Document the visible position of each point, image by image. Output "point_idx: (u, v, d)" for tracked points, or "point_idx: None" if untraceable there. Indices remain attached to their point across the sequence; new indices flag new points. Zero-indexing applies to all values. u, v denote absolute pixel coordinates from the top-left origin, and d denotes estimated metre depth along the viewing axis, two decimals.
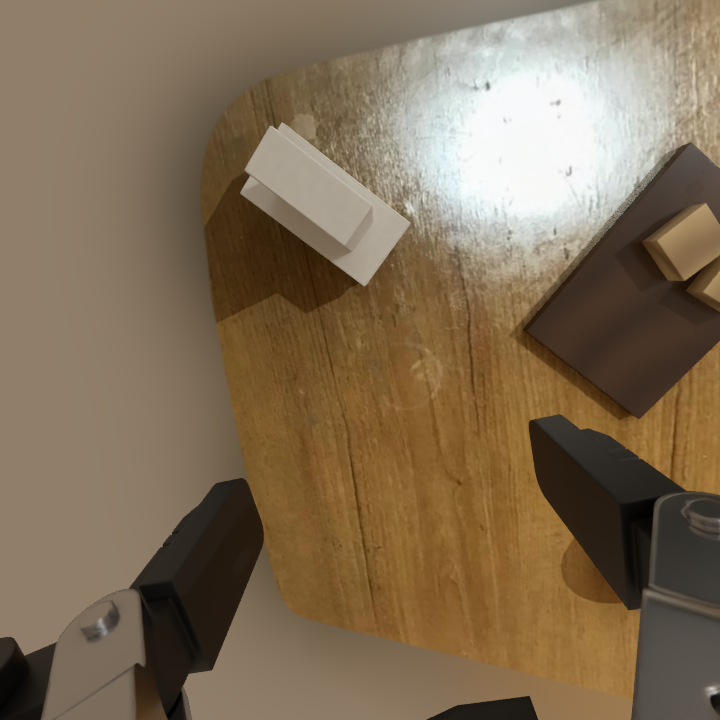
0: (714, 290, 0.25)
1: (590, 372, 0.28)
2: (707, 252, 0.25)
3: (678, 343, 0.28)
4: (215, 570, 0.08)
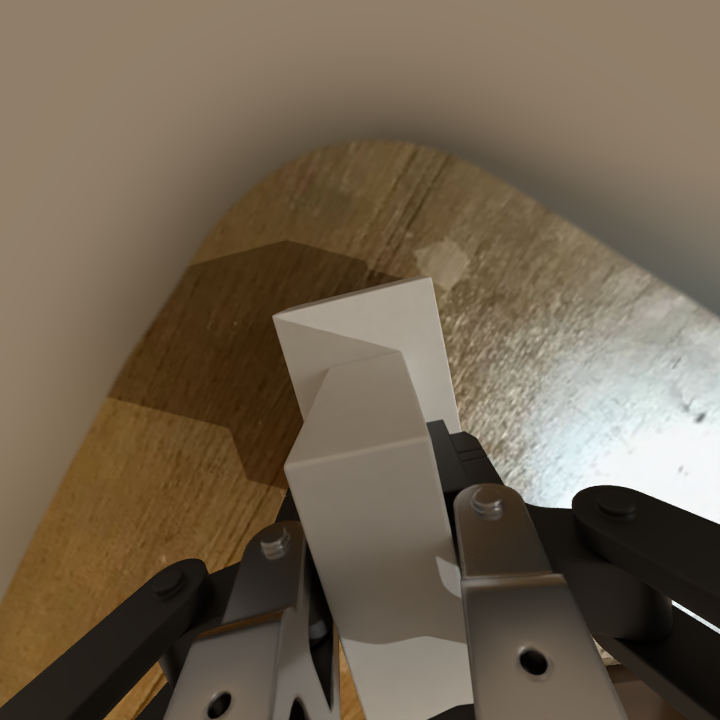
0: None
1: None
2: None
3: None
4: None
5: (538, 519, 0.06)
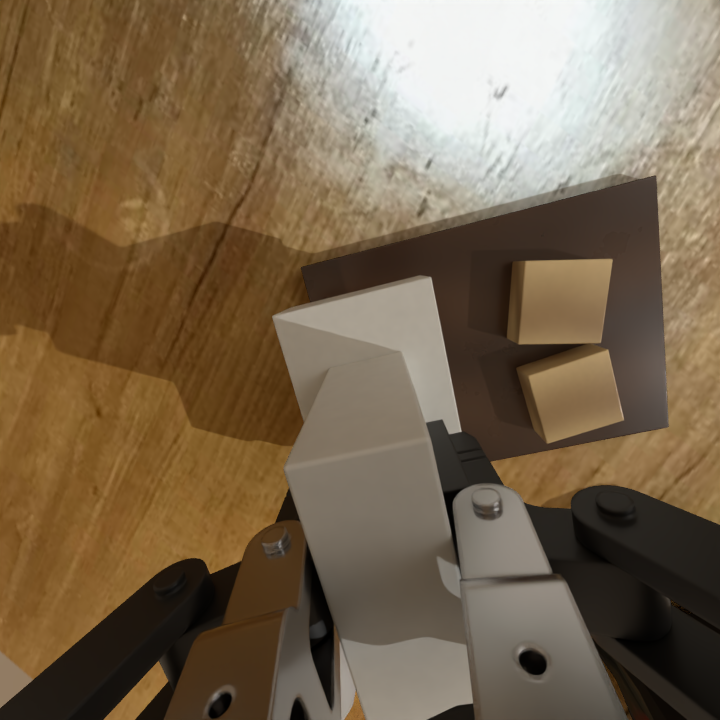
0: (540, 384, 0.17)
1: None
2: (568, 328, 0.16)
3: (464, 427, 0.19)
4: None
5: (537, 519, 0.06)
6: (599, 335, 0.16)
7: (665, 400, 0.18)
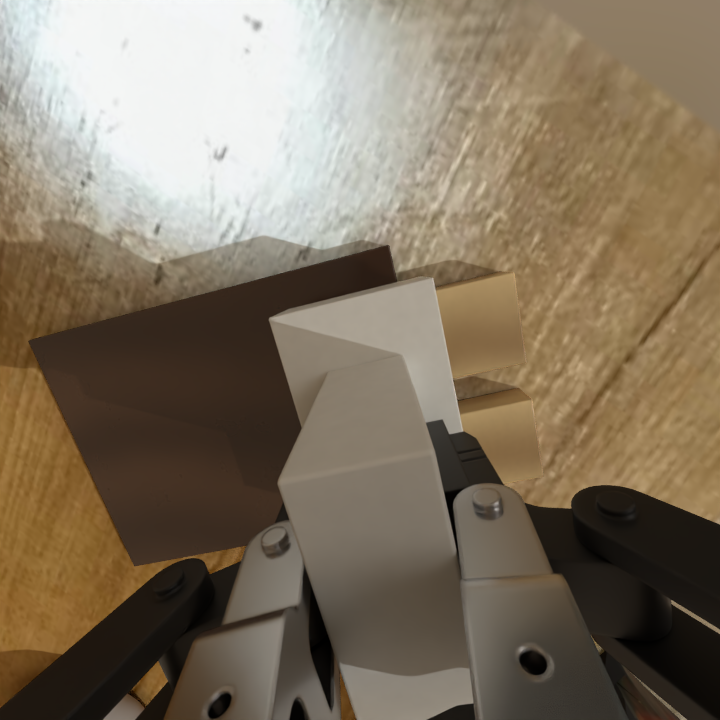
0: None
1: (96, 463, 0.17)
2: (486, 354, 0.14)
3: (230, 507, 0.17)
4: None
5: (537, 519, 0.06)
6: (522, 355, 0.14)
7: None
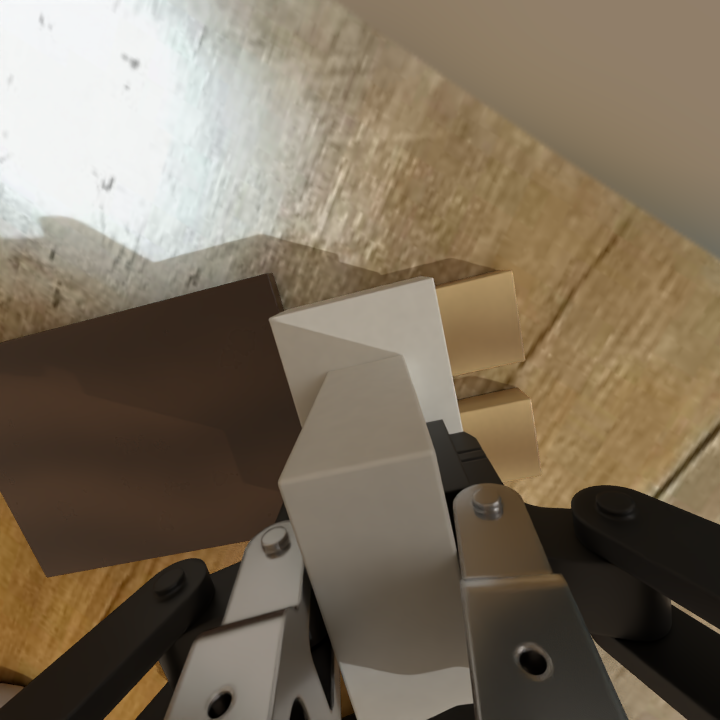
0: None
1: (4, 478, 0.18)
2: (484, 352, 0.14)
3: (135, 521, 0.18)
4: None
5: (537, 519, 0.06)
6: (520, 352, 0.14)
7: None
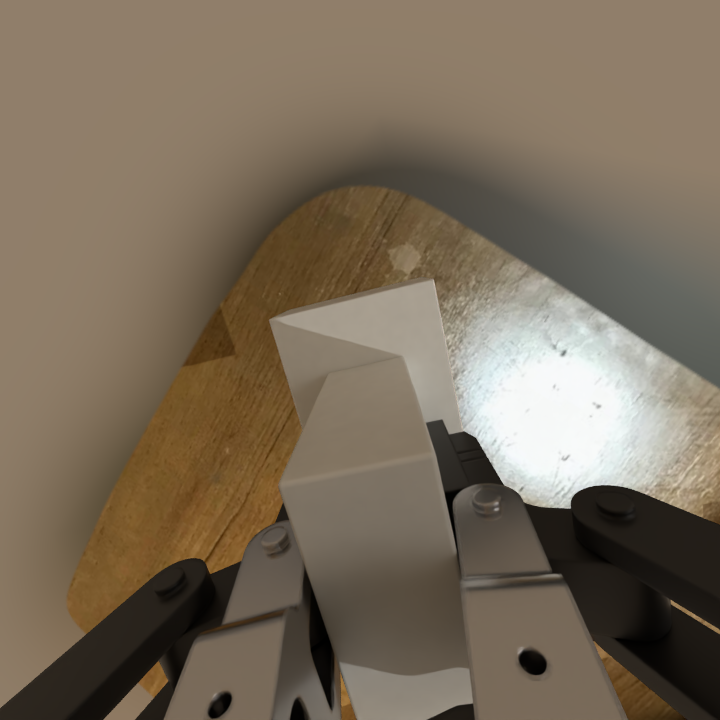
0: None
1: None
2: None
3: None
4: None
5: (537, 519, 0.06)
6: None
7: None
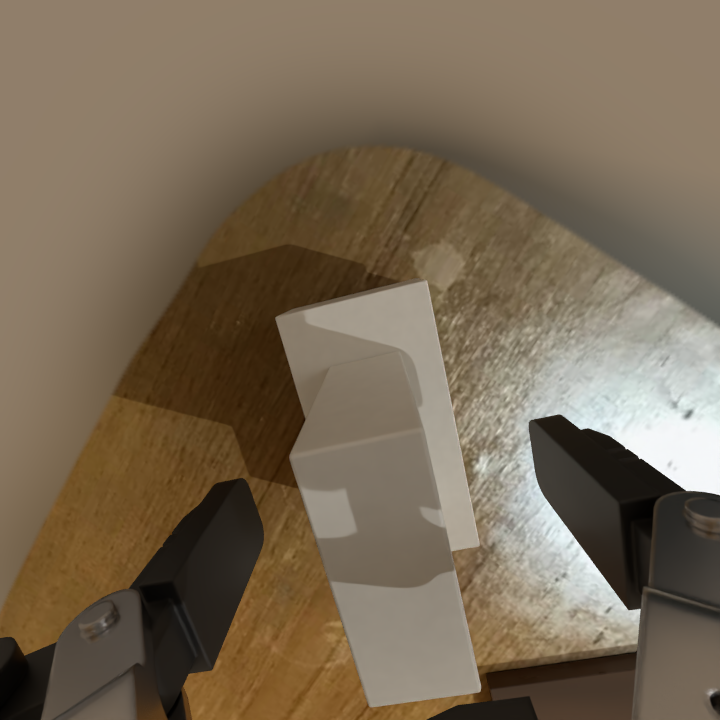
0: None
1: None
2: None
3: None
4: (215, 570, 0.08)
5: None
6: None
7: None
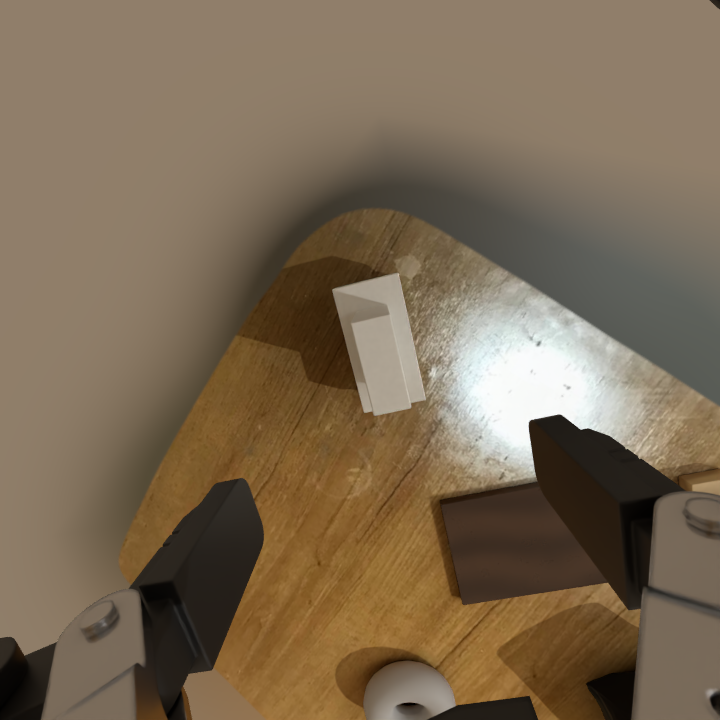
0: None
1: (458, 557, 0.36)
2: None
3: (519, 578, 0.36)
4: (215, 570, 0.08)
5: None
6: None
7: None
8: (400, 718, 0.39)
